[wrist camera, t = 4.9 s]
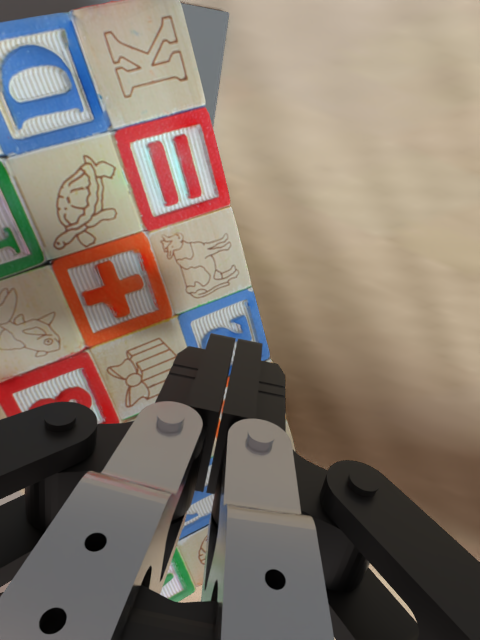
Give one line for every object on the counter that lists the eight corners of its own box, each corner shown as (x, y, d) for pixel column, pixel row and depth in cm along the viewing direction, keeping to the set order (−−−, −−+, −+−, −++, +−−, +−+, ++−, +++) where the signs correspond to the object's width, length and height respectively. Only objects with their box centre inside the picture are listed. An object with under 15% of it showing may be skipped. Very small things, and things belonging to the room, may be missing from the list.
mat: (229, 13, 17) (228, 12, 17) (172, 417, 26) (170, 420, 25) (-41, -39, 17) (-46, -42, 17) (-10, 379, 26) (-13, 382, 25)
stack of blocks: (319, 523, 20) (57, 675, 17) (263, 449, 26) (57, 554, 23) (176, -19, 12) (-388, 88, 9) (138, 43, 17) (-216, 123, 14)
